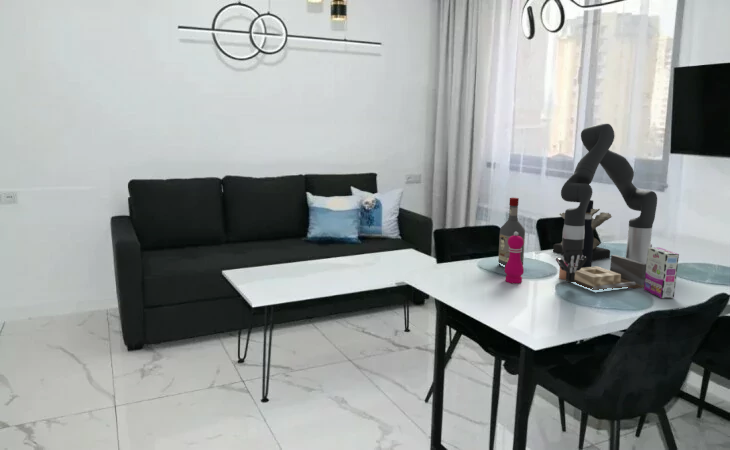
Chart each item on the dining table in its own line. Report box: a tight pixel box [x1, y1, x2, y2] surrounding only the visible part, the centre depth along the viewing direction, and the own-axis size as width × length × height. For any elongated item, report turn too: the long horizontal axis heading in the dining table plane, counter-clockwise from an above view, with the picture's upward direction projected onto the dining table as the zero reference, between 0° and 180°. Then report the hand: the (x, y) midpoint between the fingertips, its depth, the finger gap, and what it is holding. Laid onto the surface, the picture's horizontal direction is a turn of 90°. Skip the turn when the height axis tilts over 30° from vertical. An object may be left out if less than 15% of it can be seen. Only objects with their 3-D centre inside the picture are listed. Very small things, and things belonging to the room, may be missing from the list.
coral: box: [552, 208, 613, 262], centre depth 257 cm, size 25×20×22 cm
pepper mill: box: [504, 232, 525, 284], centre depth 211 cm, size 7×7×20 cm
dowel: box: [558, 262, 566, 281], centre depth 216 cm, size 4×4×8 cm
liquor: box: [498, 197, 526, 266], centre depth 232 cm, size 9×9×30 cm
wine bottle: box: [578, 199, 595, 268], centre depth 225 cm, size 6×6×30 cm
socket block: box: [574, 266, 621, 288], centre depth 206 cm, size 13×13×4 cm
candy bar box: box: [643, 247, 680, 300], centre depth 195 cm, size 11×5×16 cm, turn 5°
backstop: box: [565, 254, 646, 290], centre depth 208 cm, size 24×16×9 cm
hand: (569, 281), depth 203 cm, fingers closed
